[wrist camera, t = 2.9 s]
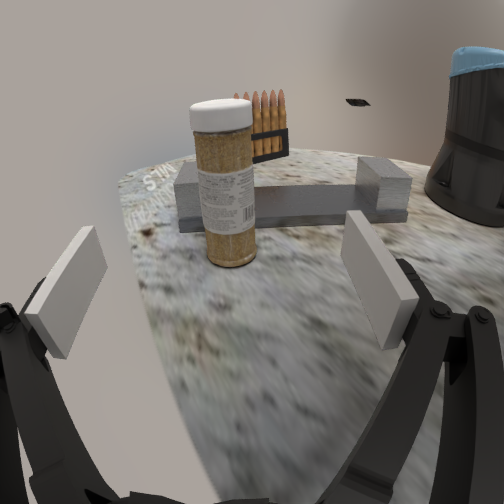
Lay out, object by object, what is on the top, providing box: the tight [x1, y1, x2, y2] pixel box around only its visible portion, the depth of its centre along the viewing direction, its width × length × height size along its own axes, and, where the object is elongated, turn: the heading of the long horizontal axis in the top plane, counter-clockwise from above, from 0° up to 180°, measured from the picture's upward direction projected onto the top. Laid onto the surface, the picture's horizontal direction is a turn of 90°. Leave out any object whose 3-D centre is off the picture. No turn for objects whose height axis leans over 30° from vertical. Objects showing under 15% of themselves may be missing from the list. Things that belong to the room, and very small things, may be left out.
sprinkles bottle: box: [189, 99, 257, 267], centre depth 24 cm, size 5×5×14 cm
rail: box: [173, 157, 413, 233], centre depth 33 cm, size 25×8×5 cm, turn 93°
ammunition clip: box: [234, 90, 289, 164], centre depth 47 cm, size 11×2×12 cm, turn 125°
